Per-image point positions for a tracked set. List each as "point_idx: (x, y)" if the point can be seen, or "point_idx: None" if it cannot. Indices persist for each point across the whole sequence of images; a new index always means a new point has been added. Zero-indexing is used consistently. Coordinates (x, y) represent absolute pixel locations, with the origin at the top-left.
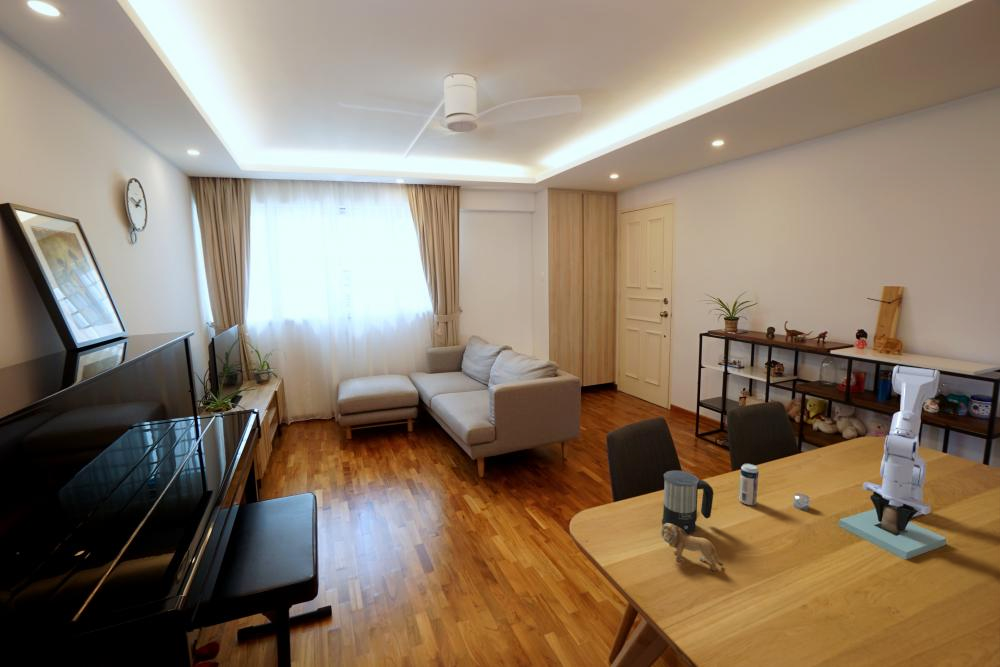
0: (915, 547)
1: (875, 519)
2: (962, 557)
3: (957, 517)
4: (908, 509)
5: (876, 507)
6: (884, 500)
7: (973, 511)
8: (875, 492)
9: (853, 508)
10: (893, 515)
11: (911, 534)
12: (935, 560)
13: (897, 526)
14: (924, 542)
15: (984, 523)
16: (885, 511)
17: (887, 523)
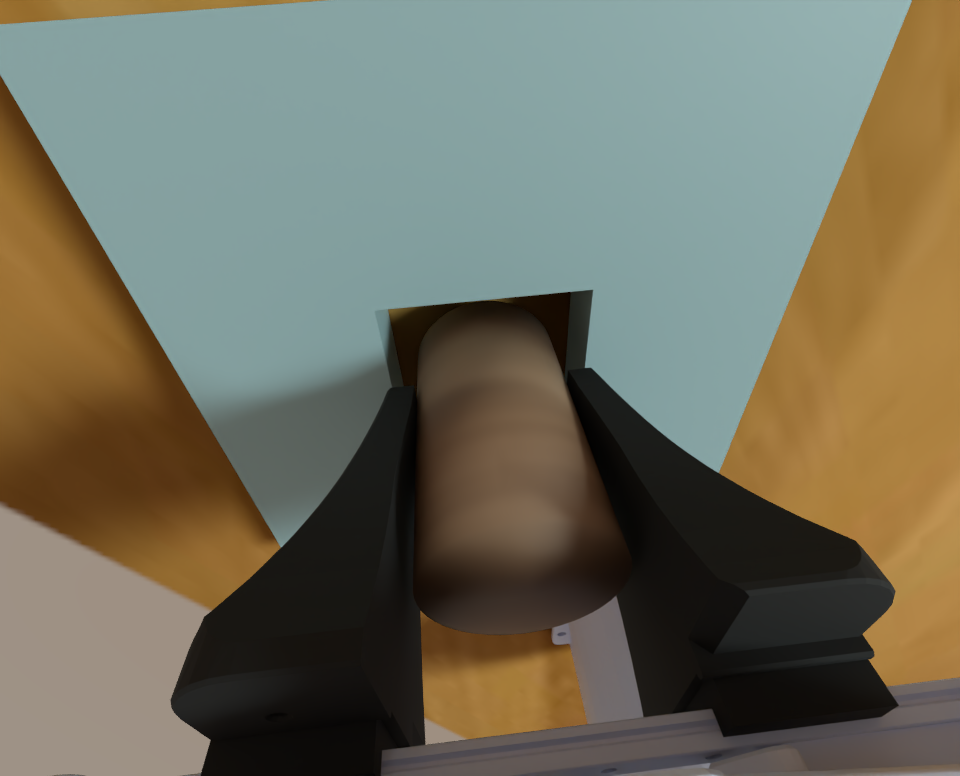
0: (143, 281)
1: (635, 397)
2: (171, 504)
3: (483, 683)
4: (235, 721)
5: (680, 465)
6: (665, 636)
7: (491, 721)
8: (864, 712)
9: (804, 429)
10: (453, 482)
11: None
12: (101, 329)
13: (409, 405)
14: (242, 429)
15: (424, 706)
16: (556, 475)
17: (489, 369)
